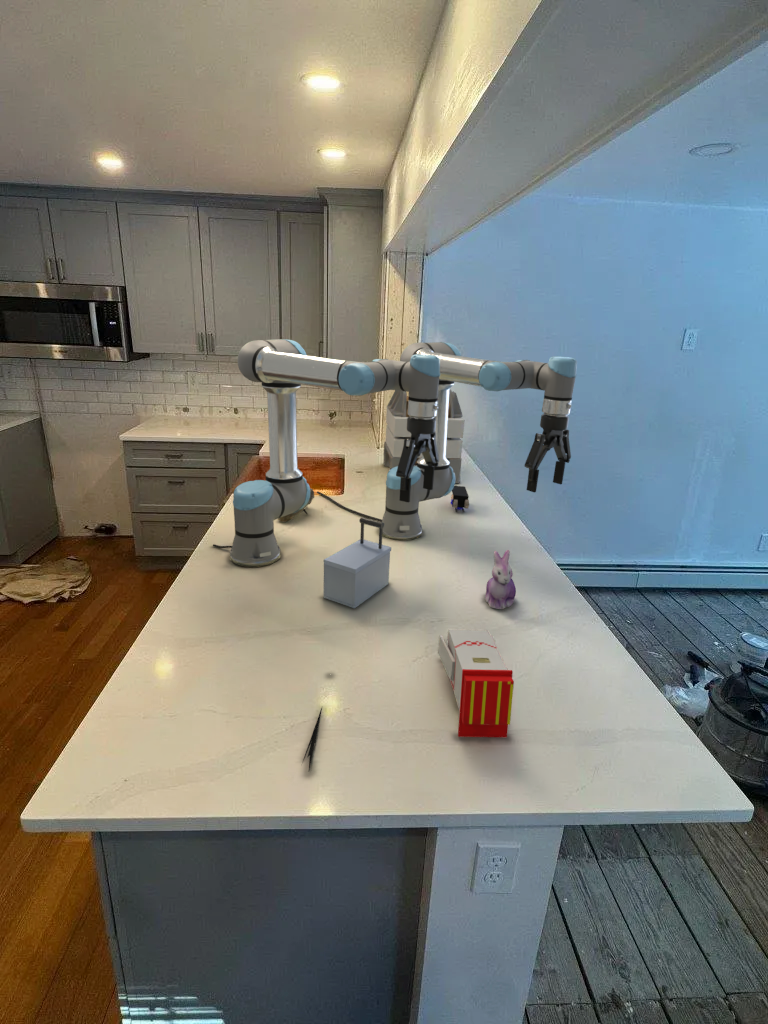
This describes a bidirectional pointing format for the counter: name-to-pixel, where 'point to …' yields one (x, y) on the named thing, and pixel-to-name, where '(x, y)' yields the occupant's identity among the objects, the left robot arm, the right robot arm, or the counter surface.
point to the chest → (356, 582)
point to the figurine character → (459, 498)
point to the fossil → (292, 515)
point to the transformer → (398, 433)
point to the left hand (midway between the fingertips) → (416, 494)
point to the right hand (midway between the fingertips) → (544, 487)
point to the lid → (359, 551)
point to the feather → (313, 740)
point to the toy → (478, 682)
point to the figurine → (501, 583)
